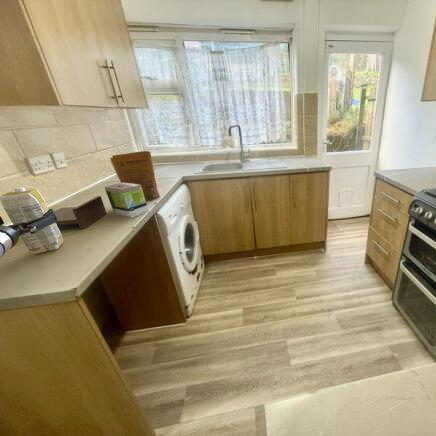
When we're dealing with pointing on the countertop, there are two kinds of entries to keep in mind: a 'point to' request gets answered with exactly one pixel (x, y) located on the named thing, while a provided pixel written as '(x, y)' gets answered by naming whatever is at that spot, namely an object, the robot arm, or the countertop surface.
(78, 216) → the shelf
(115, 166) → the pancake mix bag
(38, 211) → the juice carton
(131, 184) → the tea box
